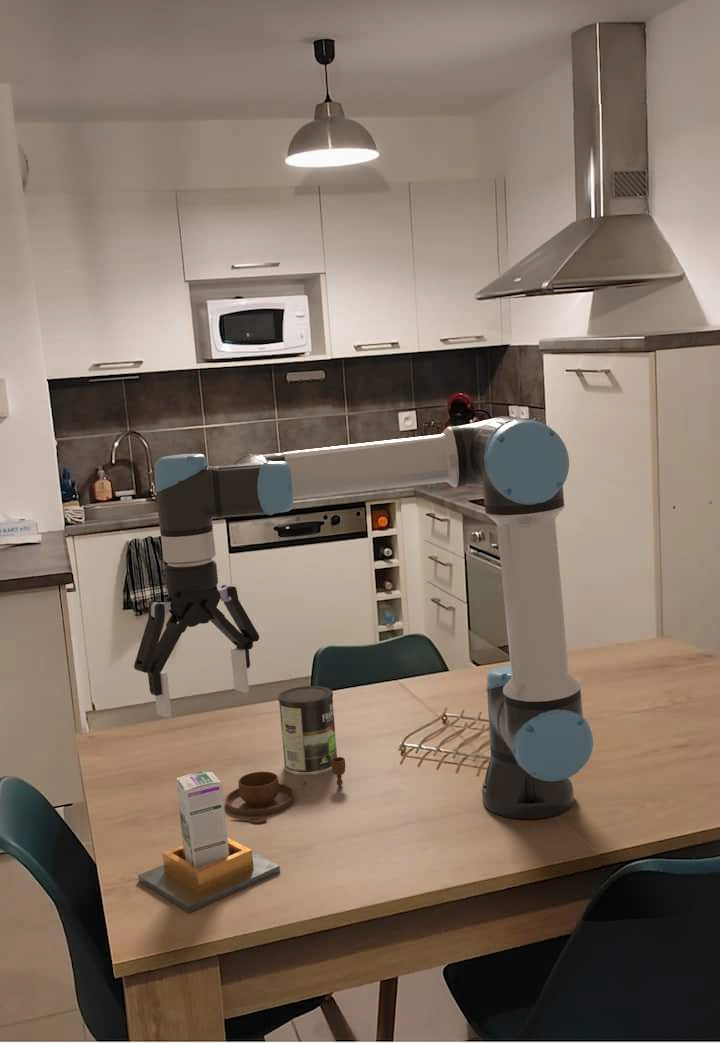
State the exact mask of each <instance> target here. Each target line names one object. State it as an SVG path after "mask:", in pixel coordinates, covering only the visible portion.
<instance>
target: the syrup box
mask: <svg viewBox="0 0 720 1043" xmlns="http://www.w3.org/2000/svg"><path fill="white" fill-rule="evenodd" d="M175 779H176V780H175V782H176V792H177V801H178V809H179V810H178V811H179V819H180V826H181V827H180V828H181V838H182V845H183V847H184V856H185V861H187V862H189V863H191V864H192V865H194V866H196V867H198V868H199V869H200V868H202V867H204V866H207V865H209V864H211V863H214V862H216V861H218V860H221V859H223V858H225V857H228V856H229V847H228V838H229V837H228V830H227V822H226V812H225V805H224V796H223V788H222V786H223V785H222V781H221V780H220V779H218V777H217V776H216V774H214V773H213V771H212V770H209V769H208V770H202V771H197V772H193V773H192V772H191V773H188V774H186V775H181V776H178V777H176V778H175ZM227 837H228V838H227Z"/></svg>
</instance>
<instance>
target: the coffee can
mask: <svg viewBox="0 0 720 1043" xmlns="http://www.w3.org/2000/svg"><path fill="white" fill-rule="evenodd" d="M333 696H334V692H333V690H332V689H330V688H329V687H326V686H319V685H308V686H307V685H305V686H297V687H292V688H289V689H286V690H284V691H282V692H280V693H279V694H278V696H277V700H278V703H279V713H280V714H279V717H280V728H281V740H282V749H283V760H284V761H283V762H284V763H283V764H284V765H283V767H284V770H285V772H287V773H289V774H292V775H297V776H314V775H315V776H316V775H320V774H321V775H322V774H324V773H327V772H329V771H330V772H331V771H332V765H331V759H333V758H335V757H338V753H337V738H336V727H335V725H336V724H335V711H334V699H333Z"/></svg>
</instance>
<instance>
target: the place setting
mask: <svg viewBox="0 0 720 1043" xmlns="http://www.w3.org/2000/svg"><path fill="white" fill-rule="evenodd" d="M331 765H332V770H331V771H332V773H333V775H334V776H336V779H337V780H336V785H337V788H336V789H337V790H340V789H341V788H342V789H343V786H342V785H343V782H344V781H343V778H342V776H343V775H344V773H346V759H345V758H344V757H343V756H342V757H341V756H337V757H335V758H333V759H331ZM237 783H238V788H236V789H234V790H232V791H231V792H229V793H228V794H227V795H226V797H225V799H224V800H225V805H226V807H227V809H228V810H229V811H230V812H232V813H234V814H236V815H240V816H246V817H252V818H246V819H245V818H244V819H230V820H229V822H248V823H250V824H262V823H264V822H266V821H267V819H268V818H266V817H263V816H267V815H272V814H275V813H278V812H281V811H282V810H285V809H286V808H288V807H289V806H290V805H291V804H292V803H293V801H294V798H295V793H294V792H295V791H294V790H293V788H292V787H290V786H288V785H286V784H283V783H280V782H279V776H278V774H276V773H274V772H271V771H257V772H250V773H247V774H244V775H242V776H240V778H239V779H238V782H237ZM306 784H307V781H305V782H303V784H302V785H303V786H305V785H306ZM342 789H341V790H342ZM279 792H280V793H283V794H285V795H286V796H288V799H287V800H286V801H284V802H282V803H280V804H277V805H274V806H270V807H267V808H266V807H265V806H267V805H269V804H271V803H272V801H273V800H274V799H276V798H277V796H278V794H279ZM238 798H241V799H242V801H243V802H246V803H248V805H249V806H251V807H258V808H257V809H249V808H248V809H245V808H239V807H235V806H233V805H232V803H233V802H234V801H235V800H236V799H238ZM259 807H265V808H259ZM259 816H260V817H259Z"/></svg>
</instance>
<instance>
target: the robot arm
mask: <svg viewBox="0 0 720 1043" xmlns="http://www.w3.org/2000/svg"><path fill="white" fill-rule="evenodd" d="M153 468H154V482H155V489H154V492H155V497H156V498H155V500H156V505H157V507H156V508H157V514H158V522H159V523H158V524H159V533H160V541H161V550H162V559H163V562H165V563H166V565H165V567H163V571H164V580H165V589H166V591H167V595H168V596H167V601H165V602H163V601H162V602H155V601H150V602H149V604H148V612H147V614H148V619H147V621H146V624H145V628H144V631H143V635H142V638H141V641H140V645H139V648H138V650H137V651H138V652H137V654H136V657H135V661H134V664H133V668H134V670H136V671H139V672H141V673H144V674H145V673H146V674H147V679H148V686H149V692H150V694H151V695H152V696H154V697H155V705H156V707H155V708H156V715H159V716H161V717H164V718H167V719H168V718H171V717H172V706H171V696H170V689H169V679H168V672H167V671H163V669H164V667H165V665H166V663H167V662H168V661H169V658H170V656H171V654H172V652H173V650H174V649H175V647H176V645H177V643H178V641H179V639H180V637H181V635H182V634H183V633H184V632H186V630H187V628H188V627H189V628H193V627H196V626H198V625H199V624H203V625H204V624H208V623H210V622H211V623H212V624H213V625H214V626H215V627H216V628H217V629H218V630H220V632H221V633H222V634H223V635H224V636H225V637H226V638H227V639H228V640H230V642H231V643H233V645H234V646H236V647H231V648H230V658H231V666H232V667H231V668H232V677H233V687H234V688H233V689H234V691H238V692H240V693H244V694H246V693H249V692H250V688H249V677H248V669H250V667H251V660H250V659H251V658H250V650H251V649H253V647H254V642H255V643H256V642H258V641H259V640H260V634H259V632H258V631H257V629H256V628H255V626H254V624H253V622H252V620H251V618H250V617H249V615H248V614H247V612H246V610H245V609H244V607H243V605H242V603H241V602H240V600H239V595H238V594H239V593H238V590H237V587H236V586H233V585H229V584H228V585H227V584H223V585H222V586H220V588H218V584H219V578H218V567H217V566H218V565H217V562H216V561H215V560H214V558H215V556H217V554H216V544H215V537H214V536H215V535H214V526H213V519H224V518H231V517H246V516H249V517H250V516H260V515H268V516H273V515H274V514H279V513H285V512H286V513H287V512H289V511H291V510H293V507H294V500H299V499H307V498H316V497H324V496H327V497H328V496H333V495H335V496H336V495H343V494H351V493H353V494H354V493H361V492H370V491H377V490H379V491H380V490H386V489H387V490H388V489H395V488H397V489H398V488H404V487H405V488H406V487H414V486H423V485H432V484H440V483H447V484H449V485H450V486H451V487H452V488H460V487H470V486H471V487H482V493H483V494H482V495H483V503H484V510H485V515H486V516H487V517H488V518H489V519H490V520H492V521H493V522H494V523H495V524H496V529H497V530H496V531H497V539H498V549H499V550H498V551H499V560H500V561H499V562H500V572H501V580H502V591H503V600H504V602H503V603H504V612H505V621H506V632H507V641H508V652H509V661H510V662H509V663H510V665H505V666H500V667H496V668H494V669H492V670H490V672H488V674H487V676H486V687H485V690H486V692H487V696H486V697H487V711H488V728H489V729H488V730H489V732H488V733H489V746H490V748H489V749H490V757H489V763H488V766H487V770H486V773H485V777H484V782H483V783H482V788H481V793H482V794H481V795H482V799H481V800H482V804H483V805H484V807H485V808H486V809H487V810H489V811H490V812H492V813H493V814H496V815H499V816H502V817H506V818H511V819H519V820H537V819H544V818H545V819H547V818H550V817H554V816H557V815H560V814H562V813H564V812H567V811H568V810H569V809H571V807H572V806H573V804H574V802H575V801H574V800H575V797H574V796H575V795H574V793H575V792H574V787H573V783H572V781H571V780H570V779H569V778H571V777H573V776H574V775H576V774H578V773H579V772H580V771H581V770H582V769H583V767H584V766H586V764H587V763H588V761H589V760H590V758H591V756H592V753H593V749H594V736H593V733H592V730H591V725H589V722H588V721H587V720H586V718H584V714H583V713H584V711H583V703H582V700H583V699H582V692H581V684H580V682H579V680H577V679H576V678H575V677H573V676H572V675H571V674H570V673H569V672H570V671H569V659H568V649H567V640H566V639H567V637H566V626H565V615H564V614H565V613H564V606H563V594H562V582H561V581H562V580H561V571H560V570H561V569H560V560H559V549H558V548H559V547H558V538H557V536H558V535H557V525H556V523H557V522H556V519H557V517H558V516H559V514H561V512H562V511H563V509H565V498H564V484H565V482H566V481H567V478H568V474H569V470H570V458H569V452H568V450H567V446H566V444H565V443H564V441H563V438H562V437H560V435H559V434H558V433H557V432H556V431H555V430H553V428H552V427H550V426H549V425H548V424H546V423H544V422H541V421H539V420H537V419H533V418H528V417H527V418H525V417H518V416H513V415H512V416H511V415H502V416H498V417H493V418H489V419H484V420H481V421H477V422H473V423H467V424H462V425H456V426H455V425H453V426H447V427H446V428H445V429H444V430H443V431H442V433H441V434H440V433H439V434H433V435H432V434H431V435H423V436H416V437H408V438H406V437H405V438H397V439H389V440H388V439H387V440H379V441H371V442H364V443H363V442H362V443H354V444H345V445H337V446H330V447H328V446H327V447H321V448H320V447H319V448H309V449H302V450H293V451H285V452H279V453H278V452H277V453H266V454H259V453H250V454H244V455H243V456H242V457H240V458H238V459H237V460H236V461H235V462H234V463H233V464H229V465H228V464H227V465H215V466H214V465H209V464H208V462H207V457H206V456H205V454H202V453H181V454H172V455H167V456H162V457H160V458H158V459H157V460H156V462H155V463H154V467H153ZM220 601H221V602H223V604H224V606H225V608H226V610H227V611H228V613H229V615H230V616H231V618H232V619H233V621H234V623H235V625H236V626H237V627H236V626H234V625H233V624H232V623H231V622H230V620H229V619H228V618H227V617H226V615H225V614H224V613H223V612H222V611H221V610H220V609H219V608H218V605H219V603H220ZM168 612H169V614H170V616H169V614H168ZM167 616H169V618H168V620H167V622H166V625H165V626H166V628H165V630H164V631H163V627H164V624H165V618H166V617H167ZM237 628H238V629H237ZM162 631H163V633H162ZM161 634H162V636H161Z"/></svg>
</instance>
